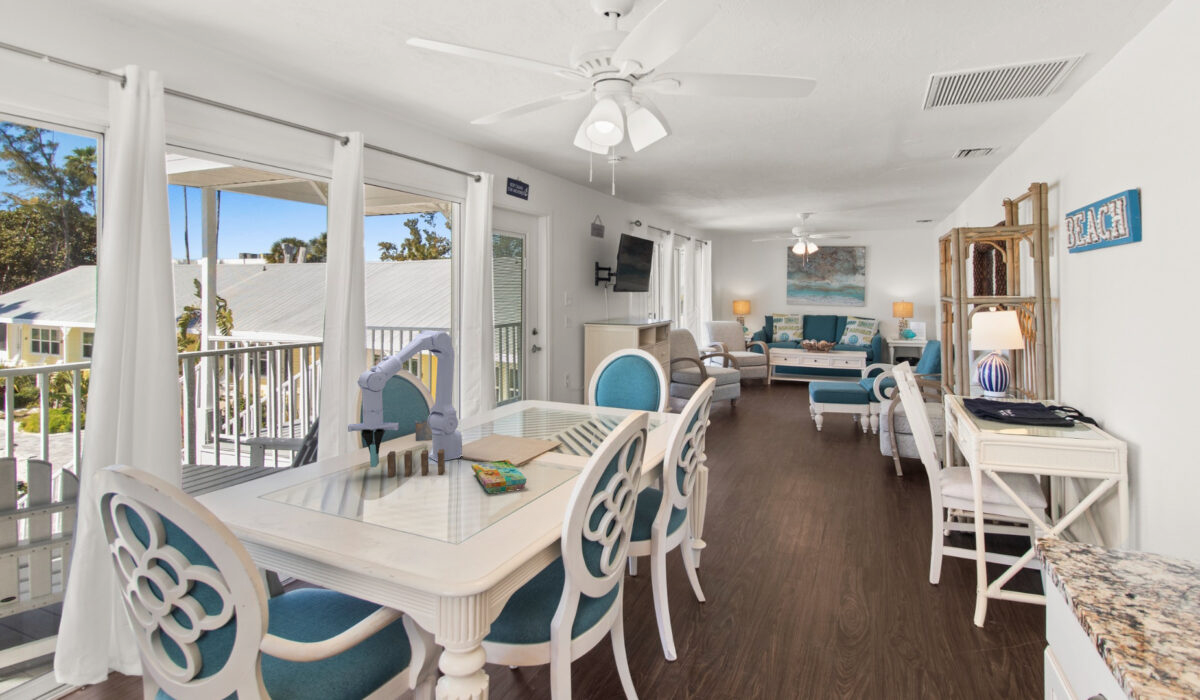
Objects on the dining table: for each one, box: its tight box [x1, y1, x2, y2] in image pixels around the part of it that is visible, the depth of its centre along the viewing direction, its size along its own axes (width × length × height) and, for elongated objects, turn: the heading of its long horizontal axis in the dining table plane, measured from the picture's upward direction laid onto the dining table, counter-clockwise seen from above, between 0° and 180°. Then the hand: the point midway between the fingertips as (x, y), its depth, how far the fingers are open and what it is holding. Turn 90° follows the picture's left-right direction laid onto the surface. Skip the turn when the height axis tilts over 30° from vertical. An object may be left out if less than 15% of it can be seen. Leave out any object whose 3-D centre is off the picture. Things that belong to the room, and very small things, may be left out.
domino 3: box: [403, 449, 413, 478], centre depth 183 cm, size 2×4×7 cm, turn 9°
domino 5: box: [437, 449, 446, 476], centre depth 184 cm, size 2×4×7 cm, turn 9°
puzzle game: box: [471, 459, 527, 494], centre depth 176 cm, size 12×5×20 cm
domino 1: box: [369, 440, 380, 468], centre depth 181 cm, size 2×4×7 cm, turn 10°
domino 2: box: [386, 450, 397, 478], centre depth 182 cm, size 2×4×7 cm, turn 9°
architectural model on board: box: [414, 420, 432, 442], centre depth 225 cm, size 11×3×10 cm, turn 100°
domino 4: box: [420, 449, 430, 477], centre depth 183 cm, size 2×4×7 cm, turn 9°
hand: (374, 453), depth 181 cm, fingers closed on domino 1, 1 cm apart
